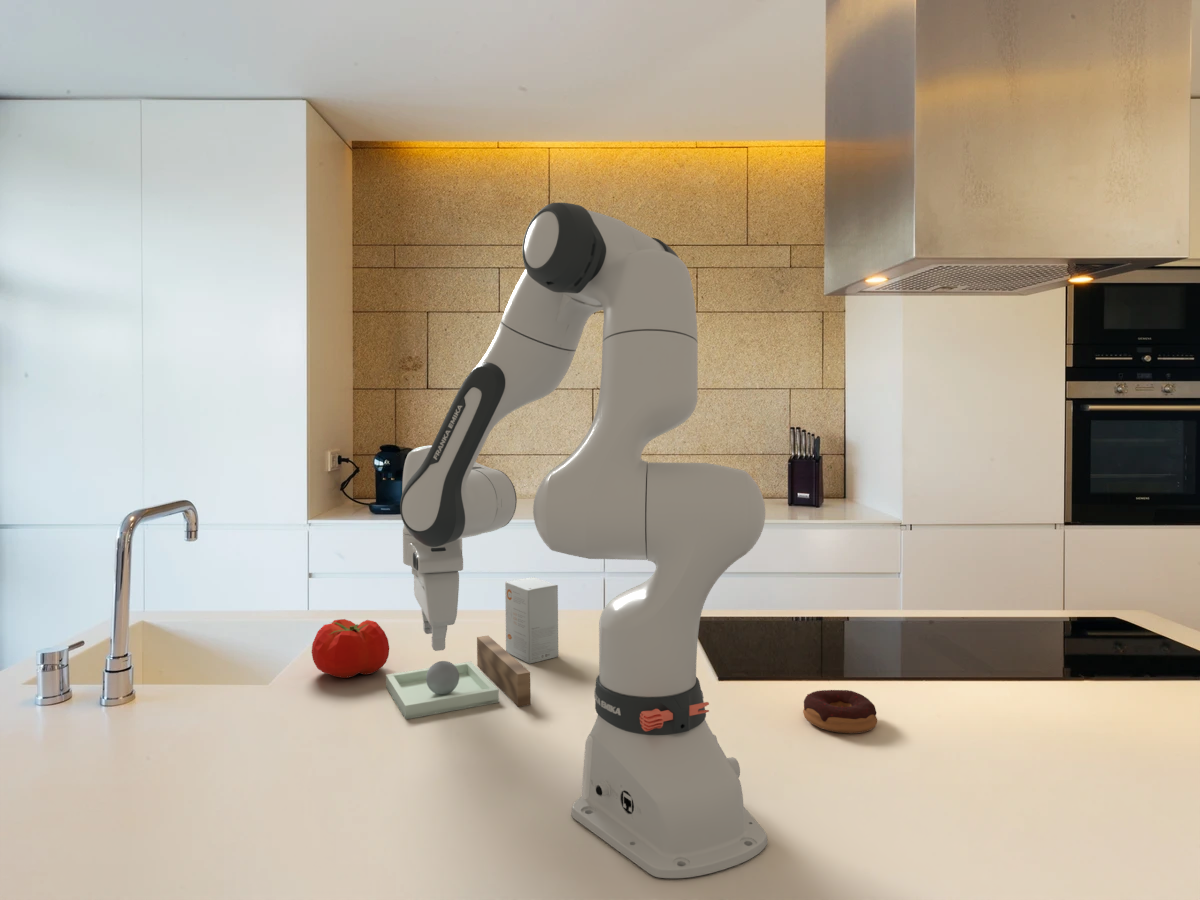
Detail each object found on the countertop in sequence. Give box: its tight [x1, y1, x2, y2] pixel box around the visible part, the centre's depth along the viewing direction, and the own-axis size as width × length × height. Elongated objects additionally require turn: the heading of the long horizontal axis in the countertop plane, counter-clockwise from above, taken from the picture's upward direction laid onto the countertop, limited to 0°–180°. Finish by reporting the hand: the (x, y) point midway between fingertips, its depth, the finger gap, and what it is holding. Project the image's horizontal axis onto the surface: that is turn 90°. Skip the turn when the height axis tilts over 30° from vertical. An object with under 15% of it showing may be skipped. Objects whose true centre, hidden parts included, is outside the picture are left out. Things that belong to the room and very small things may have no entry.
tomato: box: [311, 618, 390, 679], centre depth 134 cm, size 13×12×8 cm
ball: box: [426, 660, 459, 695], centre depth 123 cm, size 5×5×5 cm
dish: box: [385, 660, 500, 720], centre depth 124 cm, size 14×14×2 cm
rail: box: [476, 635, 532, 708], centre depth 129 cm, size 20×2×5 cm, turn 26°
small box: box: [504, 576, 559, 664], centre depth 142 cm, size 8×6×13 cm
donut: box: [802, 689, 878, 734], centre depth 114 cm, size 10×10×4 cm
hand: (433, 640), depth 122 cm, fingers open, 8 cm apart
